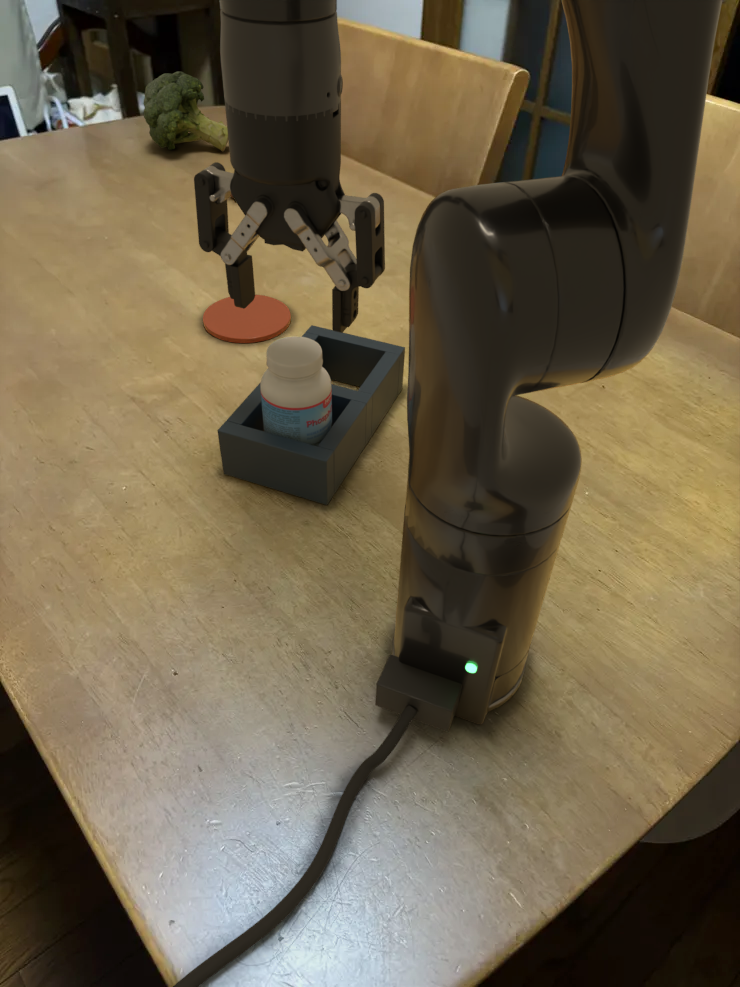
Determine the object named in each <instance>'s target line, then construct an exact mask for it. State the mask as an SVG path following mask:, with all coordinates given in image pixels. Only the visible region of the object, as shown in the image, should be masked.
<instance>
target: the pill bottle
mask: <svg viewBox="0 0 740 987" xmlns="http://www.w3.org/2000/svg"><path fill="white" fill-rule="evenodd" d="M265 352H266V353H265V354H266V367H267V368H266V369H265V371H264V372H263V373H262V376H261V378H260V382H261V383H260V382H259V383H260V387H261V401H262V414H263V425H264V432H267V433H271V434H275V435H278V436H282V437H285V438H289V439H292V440H296V441H299V442H303V443H306V444H310V445H314V446H317V447H318V445H319V444H320V443H321V441H322V440H323V439H324V437H325V436H326V434H327V433H328V432H329V430H330V429H331V427H332V388H331V384H332V380H331V379H330V376H329V374H328V373H327V371H326V370H325V369H324V368H323V367H322V364H323V359H322V349H321V346H320V345H319V344H318V343H317V342H316V341H314V340H312V339H309V338H306V337H302V336H297V335H292V336H285V337H281V338H278V339H275V340H274V341H273V342H271V343H270V344H269V345H268V346H267V348H266V351H265Z"/></svg>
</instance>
